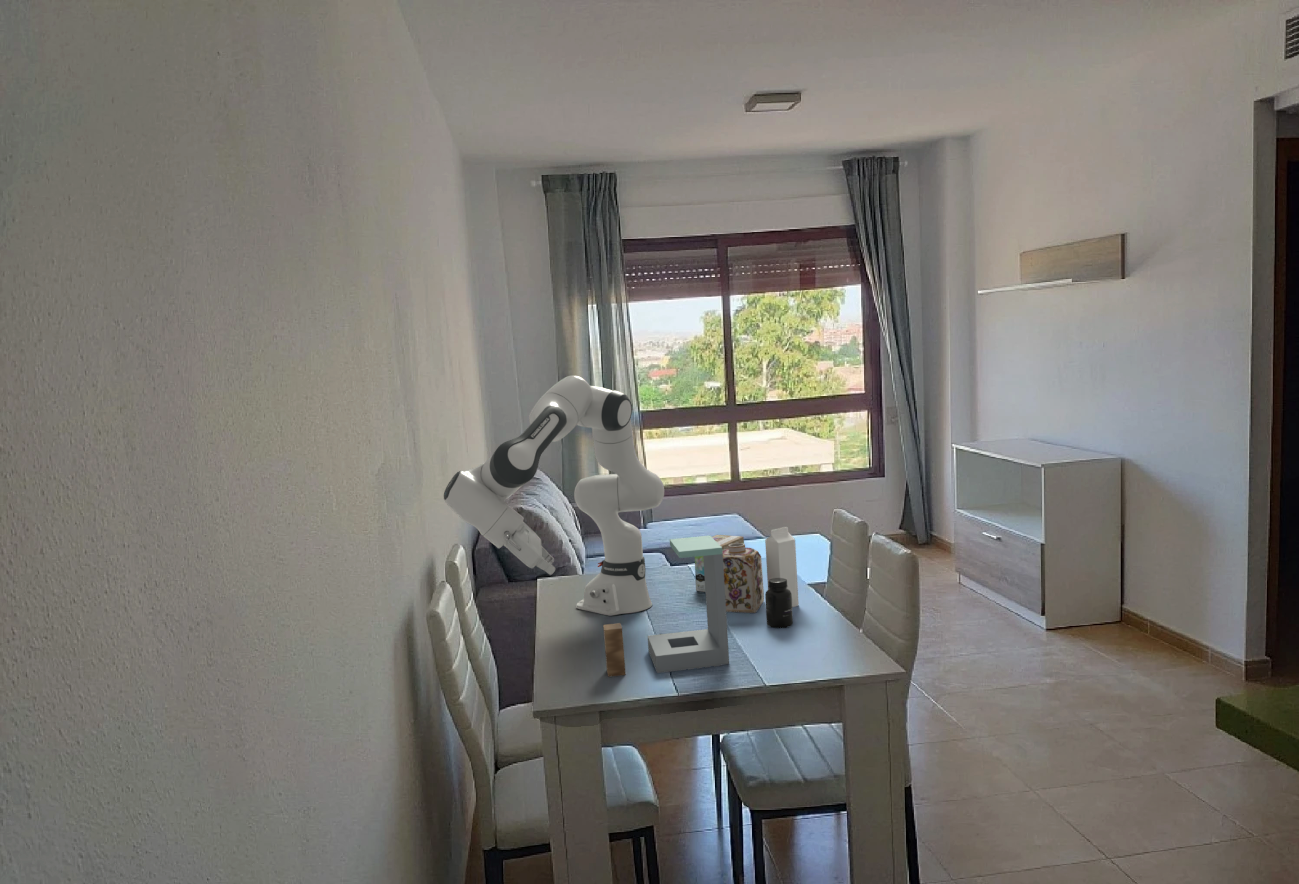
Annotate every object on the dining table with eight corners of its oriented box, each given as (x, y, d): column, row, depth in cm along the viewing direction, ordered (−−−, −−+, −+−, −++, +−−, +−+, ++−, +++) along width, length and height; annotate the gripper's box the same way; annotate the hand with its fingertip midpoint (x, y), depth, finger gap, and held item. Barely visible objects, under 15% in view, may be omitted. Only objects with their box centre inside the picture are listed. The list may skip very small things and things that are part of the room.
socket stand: (657, 672, 201) (648, 555, 198) (648, 651, 216) (640, 541, 213) (729, 664, 203) (722, 547, 200) (716, 643, 218) (709, 535, 215)
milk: (798, 605, 245) (795, 528, 242) (781, 610, 242) (777, 531, 240) (785, 601, 250) (781, 525, 248) (768, 605, 247) (764, 528, 245)
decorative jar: (756, 613, 240) (752, 549, 238) (715, 612, 244) (711, 549, 242) (765, 601, 251) (761, 539, 250) (725, 600, 255) (721, 539, 253)
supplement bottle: (792, 629, 225) (790, 583, 224) (765, 629, 227) (763, 583, 225) (793, 620, 232) (791, 576, 231) (767, 620, 233) (765, 576, 232)
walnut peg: (608, 676, 201) (604, 630, 200) (606, 670, 205) (603, 624, 204) (625, 674, 201) (622, 628, 200) (623, 668, 205) (620, 622, 204)
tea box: (724, 594, 261) (721, 545, 260) (695, 591, 266) (692, 543, 265) (746, 581, 274) (744, 535, 272) (718, 579, 279) (715, 533, 278)
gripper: (514, 526, 186) (563, 566, 189) (515, 510, 207) (560, 547, 209) (494, 548, 186) (544, 589, 188) (498, 530, 207) (543, 567, 209)
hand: (553, 566), depth 199 cm, fingers open, 8 cm apart
